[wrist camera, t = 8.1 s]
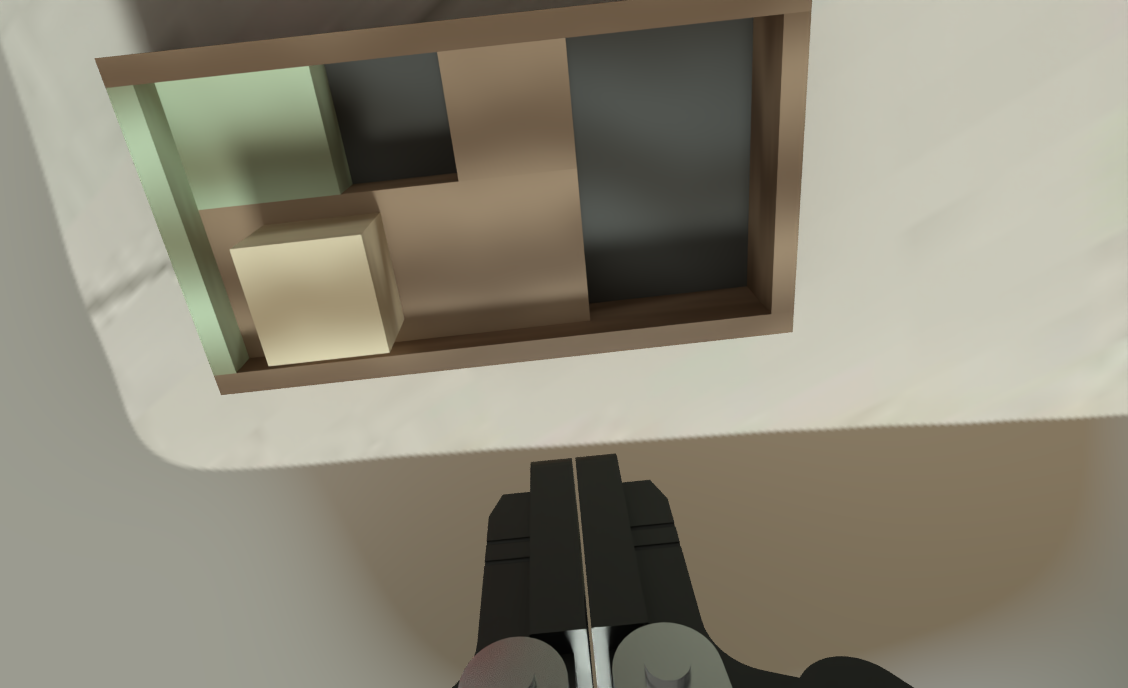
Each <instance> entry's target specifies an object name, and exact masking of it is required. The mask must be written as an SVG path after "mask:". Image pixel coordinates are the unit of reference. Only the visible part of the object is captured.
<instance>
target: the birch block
mask: <svg viewBox="0 0 1128 688" xmlns="http://www.w3.org/2000/svg"><path fill="white" fill-rule="evenodd" d="M229 250H230V253H231V256H232V259H233V262H234V265H235V268H236V271H237V274H238V277H239V280H240V282H241V285H242V288H243V291H244V294H245V297H246V300H247V303H248V306H249V309H250V312H251V315H252V318H253V321H254V324H255V327H256V330H257V333H258V336H259V339H260V342H261V345H262V348H263V351H264V354H265V357H266V360H267V363H268V366H276V365H285V364H294V363H303V362H312V361H320V360H329V359H338V358H347V357H356V356H365V355H374V354H383V353H390V351H391V349H392V346H393V344H394V342H395V340H396V337H397V335H398V333H399V330H400V328H401V326H402V324H403V321H404V315H403V311H402V306H401V302H400V297H399V293H398V288H397V284H396V280H395V275H394V271H393V266H392V262H391V257H390V253H389V249H388V244H387V240H386V235H385V231H384V226H383V222H382V218H381V213H380V212H377V213H368V214H359V215H350V216H341V217H332V218H323V219H315V220H306V221H297V222H288V223H279V224H270V225H263V226H262V227H260V228H259V229H258V230H256V231H255V232H253V233H252V234H251V235H249V236H248V237H246V238H245V239H243V240H242V241H241V242H239V243H238V244H236V245H235V246H233V247H232V248H231V249H229Z"/></svg>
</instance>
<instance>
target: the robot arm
mask: <svg viewBox="0 0 1128 688" xmlns="http://www.w3.org/2000/svg"><path fill="white" fill-rule="evenodd" d="M575 459H576V469H577V479H578V491H579V501H580V512H581V523H582V533H583V544H584V554H585V564H586V575H587V586H588V596H589V607H590V617H591V628H592V637H593V647H594V657H595V667H596V676H597V685H598V688H913V687H912V686H910V685H909V684H907V683H906V682H904V681H902V680H901V679H900V678H898V677H896V676H895V675H893V674H892V673H890V672H889V671H887V670H885V669H883V668H882V667H880V666H878V665H876V664H873V663H871V662H868V661H865V660H862V659H859V658H853V657H843V656H836V657H829V658H825V659H822V660H819V661H817V662H815V663H813V664H812V665H810V666H809V667H808V668H807V669H806V670H805V671H804V672H803V674H802V675H801V677H800V678H798V677H793V676H787V675H783V674H778V673H773V672H768V671H764V670H759V669H756V668H752V667H750V666H747V665H744V664H742V663H740V662H738V661H736V660H735V659H733V658H731V657H730V656H728V655H727V654H726V653H724V652H723V651H722V650H721V649H720V648H719V647H718V646H717V645H716V644H715V643H714V642H713V641H712V639H711V638H710V637H709V635H708V633H707V632H706V630H705V628H704V625H703V623H702V620H701V616H700V613H699V609H698V606H697V602H696V599H695V595H694V592H693V588H692V585H691V581H690V577H689V573H688V570H687V566H686V563H685V559H684V556H683V552H682V548H681V547H680V541H679V538H678V534H677V531H676V527H675V526H674V520H673V516H672V513H671V510H670V506H669V502H668V499H667V498H666V497H665V495H664V494H662V492H661V491H660V490H659V489H658V488H657V487H656V486H655V485H654V484H653V483H652V482H651V481H650V480H644V481H634V482H624V483H622V481H621V475H620V470H619V466H618V460H617V455H616V454H607V455H596V456H586V457H576V458H575ZM530 473H531V475H530V476H531V477H530V492H525V493H515V494H505V495H502V497H501V499H500V500H499V502H498V503H497V505H496V506H495V508H494V509H493V511H492V513H491V514H490V516H489V522H488V532H487V546H486V554H485V566H484V576H483V587H482V598H481V609H480V620H479V631H478V642H477V648H476V653H475V656H474V658H472V660H470V662H469V663H468V665H467V666H466V668H465V669H464V671H463V674H462V676H461V678H460V680H459V681H458V683H457V684H456V685H455V686H453V687H452V688H594V686H593V675H592V664H591V652H590V641H589V631H588V619H587V608H586V597H585V586H584V574H583V564H582V553H581V542H580V532H579V522H578V513H577V503H576V494H575V484H574V476H573V466H572V458H568V459H558V460H548V461H538V462H531V468H530Z"/></svg>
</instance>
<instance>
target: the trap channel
mask: <svg viewBox="0 0 1128 688" xmlns="http://www.w3.org/2000/svg"><path fill="white" fill-rule="evenodd" d="M811 7H812V0H625V1H616V2H607V3H597V4H588V5H579V6H570V7H561V8H552V9H542V10H533V11H524V12H515V13H506V14H497V15H488V16H478V17H469V18H460V19H451V20H442V21H433V22H423V23H414V24H405V25H396V26H387V27H378V28H369V29H359V30H350V31H341V32H332V33H323V34H314V35H304V36H295V37H286V38H277V39H268V40H259V41H250V42H240V43H231V44H222V45H213V46H204V47H195V48H186V49H176V50H167V51H158V52H149V53H140V54H131V55H121V56H112V57H103V58H95V61H96V64H97V66H98V69H99V72H100V74H101V77H102V80H103V82H104V85H105V88H106V90H107V93H108V95H109V98H110V101H111V103H112V106H113V109H114V111H115V114H116V117H117V119H118V122H119V125H120V127H121V130H122V133H123V135H124V138H125V141H126V143H127V146H128V149H129V151H130V154H131V157H132V159H133V162H134V165H135V167H136V170H137V173H138V175H139V178H140V181H141V183H142V186H143V188H144V191H145V194H146V196H147V199H148V202H149V204H150V207H151V210H152V212H153V215H154V218H155V220H156V223H157V226H158V228H159V231H160V234H161V236H162V239H163V242H164V244H165V247H166V250H167V252H168V255H169V258H170V260H171V263H172V266H173V268H174V271H175V274H176V276H177V279H178V282H179V284H180V287H181V289H182V292H183V295H184V297H185V300H186V303H187V305H188V308H189V311H190V313H191V316H192V319H193V321H194V324H195V327H196V329H197V332H198V335H199V337H200V340H201V343H202V345H203V348H204V351H205V353H206V356H207V359H208V361H209V364H210V367H211V369H212V372H213V375H214V377H215V380H216V382H217V385H218V388H219V390H220V393H221V395H226V394H235V393H244V392H253V391H262V390H271V389H280V388H290V387H299V386H308V385H317V384H326V383H335V382H344V381H353V380H362V379H371V378H380V377H389V376H398V375H407V374H416V373H426V372H435V371H444V370H453V369H462V368H471V367H480V366H489V365H498V364H507V363H516V362H525V361H534V360H543V359H552V358H562V357H571V356H580V355H589V354H598V353H607V352H616V351H625V350H634V349H643V348H652V347H661V346H670V345H679V344H688V343H698V342H707V341H716V340H725V339H734V338H743V337H752V336H761V335H770V334H779V333H788V332H793V315H794V297H795V280H796V263H797V246H798V229H799V212H800V195H801V178H802V161H803V144H804V127H805V110H806V93H807V76H808V59H809V42H810V25H811ZM377 212H380V213H381V218H382V222H383V226H384V231H385V235H386V240H387V244H388V249H389V253H390V257H391V262H392V266H393V271H394V275H395V280H396V284H397V288H398V293H399V297H400V302H401V306H402V311H403V315H404V321H403V324H402V326H401V328H400V330H399V333H398V335H397V337H396V340H395V342H394V344H393V346H392V349H391V351H390V353H383V354H374V355H365V356H356V357H347V358H338V359H329V360H320V361H312V362H303V363H294V364H285V365H276V366H268V363H267V360H266V357H265V354H264V351H263V348H262V345H261V342H260V339H259V336H258V333H257V330H256V327H255V324H254V321H253V318H252V315H251V312H250V309H249V306H248V303H247V300H246V297H245V294H244V291H243V288H242V285H241V282H240V280H239V277H238V274H237V271H236V268H235V265H234V262H233V259H232V256H231V253H230V250H229V249H231V248H232V247H233V246H235V245H236V244H238V243H239V242H241V241H242V240H243V239H245V238H246V237H248V236H249V235H251V234H252V233H253V232H255V231H256V230H258V229H259V228H260V227H262V226H263V225H270V224H279V223H288V222H297V221H306V220H315V219H323V218H332V217H341V216H350V215H359V214H368V213H377Z"/></svg>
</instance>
